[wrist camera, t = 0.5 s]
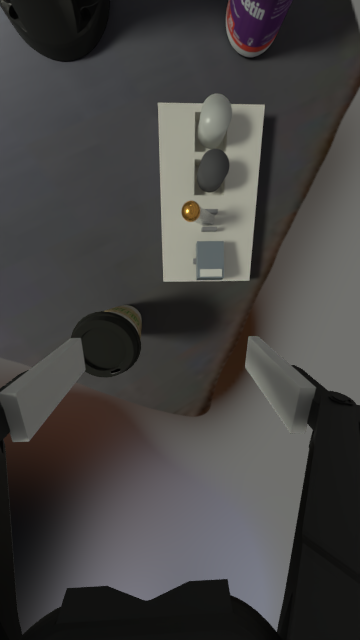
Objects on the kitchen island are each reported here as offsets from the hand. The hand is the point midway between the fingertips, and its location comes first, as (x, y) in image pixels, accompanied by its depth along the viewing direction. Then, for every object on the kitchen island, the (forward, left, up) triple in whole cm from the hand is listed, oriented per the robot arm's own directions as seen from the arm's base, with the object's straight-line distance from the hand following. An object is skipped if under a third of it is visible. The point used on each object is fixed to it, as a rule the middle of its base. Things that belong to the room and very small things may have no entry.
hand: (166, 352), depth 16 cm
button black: (-20, +7, -23) cm, 31 cm away
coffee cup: (+4, -9, -26) cm, 28 cm away
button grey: (-26, +7, -23) cm, 35 cm away
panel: (-17, +7, -26) cm, 31 cm away
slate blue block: (-7, +7, -20) cm, 23 cm away
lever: (-14, +7, -22) cm, 27 cm away
